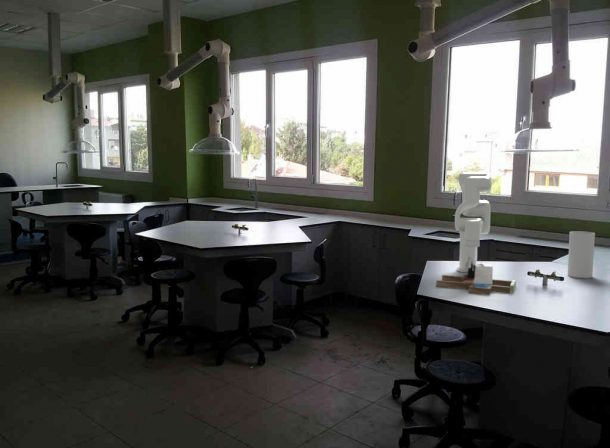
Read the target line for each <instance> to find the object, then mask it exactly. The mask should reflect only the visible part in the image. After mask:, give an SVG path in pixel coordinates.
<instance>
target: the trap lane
mask: <svg viewBox="0 0 610 448" xmlns="http://www.w3.org/2000/svg"><path fill="white" fill-rule="evenodd" d="M467 277H468V273H467V274H466V273H462V274H461V275H460V276H457V275H449V274H447V275H446V274H443V275H441V280H439V279H437V280H436V281H435V282H436V284H435V285H436V287H438V286H440V287H439V288H448V287H450V288H449V289H461V290H468V294H475V295H476V294H478V295H486V296H487V295H488V296H490V295H491V294H492V293H500V294H501V293H504V294H510V295H511V294H514V292H515V290H516V287H517V279H516V278H513V279H512V280H505V279H493V278H492V285H489V286H488V287H487V288H482V287H475V284H474V279H470V278H467ZM466 282H467V283H466Z"/></svg>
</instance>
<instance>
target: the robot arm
mask: <svg viewBox="0 0 610 448" xmlns="http://www.w3.org/2000/svg"><path fill="white" fill-rule="evenodd" d="M457 179H458V185H459V187H460V189H461V193H462V194H461V203H460V204H459V206H458V207H457V208H456V211H455V212H454V213H455V214H454V229H455V230H456V231H457V232H459V266H458V267H457V268H456V271H457V272H459V273H460V272H461V273H467V274H468V277H467V278H470V279H474V272H475V271H474V266H475V264H478V263H477V262H478V248H479V247H480V245H481V244H480V243H481V242H480V239H481V238H480V237H481V235H482V236H483V235H488V234H489V233H490V230H491V212H492V211H491V203H490V202H489V201H488V200H485V199H483V200H481V195H480V194H481V193H488V192H490V191H491V190H492V184H493V183H492V177H491V175H490V173H489V172H486V171H485V172H484V171H478V172H477V171H465V172H460V173H459V174H458V177H457ZM461 214H462V215H463V216H465V217H461Z"/></svg>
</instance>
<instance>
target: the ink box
mask: <svg viewBox="0 0 610 448" xmlns="http://www.w3.org/2000/svg"><path fill="white" fill-rule="evenodd" d="M493 270H494V269H493V265H492V264H491V263H483V262H481V261H479V263H476V264H475V266H474V271H475V272H474V284H475V287H482V288H487V287H488V286H489V285H492V279H493Z"/></svg>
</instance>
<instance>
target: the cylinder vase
mask: <svg viewBox="0 0 610 448" xmlns="http://www.w3.org/2000/svg"><path fill="white" fill-rule="evenodd" d="M595 239H596V233H595V232H592V231H591V232H590V231H579V230H578V231H577V230H576V231H573V230H572V231H569V240H568V243H569V244H568V255H567V256H568V259H567V276H568V277H570V278H574V279H582V280H583V279H591V278H593V274H594V273H593V272H594V255H595V254H594V253H595Z"/></svg>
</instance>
